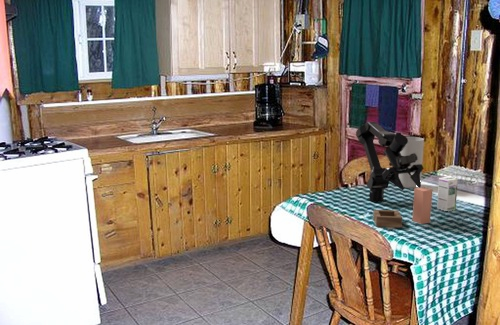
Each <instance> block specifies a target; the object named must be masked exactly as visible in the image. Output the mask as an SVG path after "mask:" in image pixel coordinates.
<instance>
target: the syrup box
mask: <svg viewBox="0 0 500 325" xmlns="http://www.w3.org/2000/svg"><path fill="white" fill-rule="evenodd" d="M458 180H459V179H458V178H456V177H453V176H443V177H439V178H438V187H437V201H436V202H437V203H436V204H437V205H436V209H437V210H439V209H441V210H440V211H442V210H444V211H443V212H445V211H448V212H451V211H452V210H453V211H456V209H457V195H458V183H459V182H458Z"/></svg>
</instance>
